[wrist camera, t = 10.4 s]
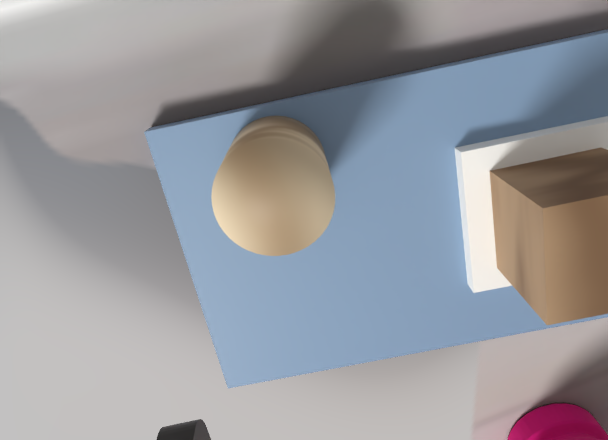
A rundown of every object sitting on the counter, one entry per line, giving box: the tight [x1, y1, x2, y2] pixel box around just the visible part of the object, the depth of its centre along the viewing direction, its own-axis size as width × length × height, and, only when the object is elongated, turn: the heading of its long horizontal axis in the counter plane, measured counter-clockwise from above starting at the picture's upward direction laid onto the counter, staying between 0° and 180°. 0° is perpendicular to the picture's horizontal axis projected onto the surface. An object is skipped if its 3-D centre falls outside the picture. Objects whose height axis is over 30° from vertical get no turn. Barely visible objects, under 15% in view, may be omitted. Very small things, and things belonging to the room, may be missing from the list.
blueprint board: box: [144, 29, 608, 388], centre depth 27 cm, size 24×16×2 cm, turn 102°
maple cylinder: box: [211, 116, 335, 256], centre depth 22 cm, size 5×5×6 cm
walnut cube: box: [490, 148, 608, 325], centre depth 23 cm, size 6×6×6 cm
